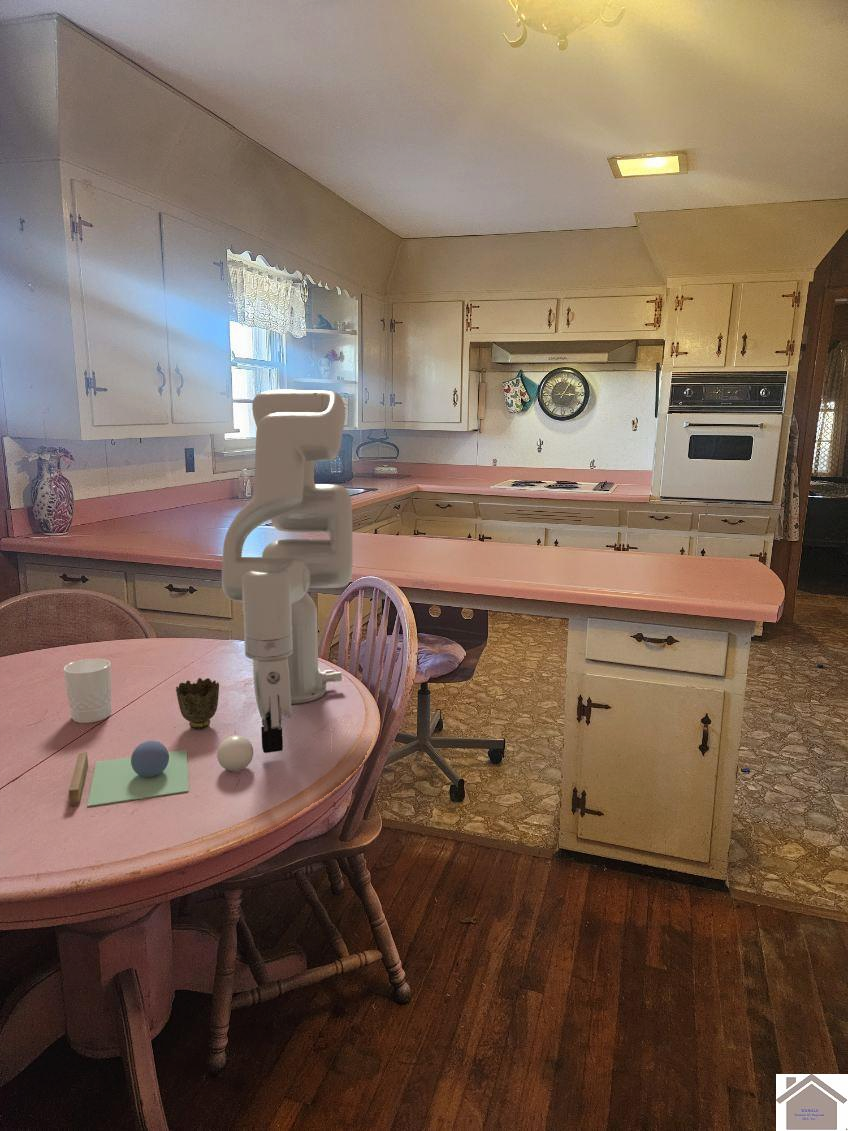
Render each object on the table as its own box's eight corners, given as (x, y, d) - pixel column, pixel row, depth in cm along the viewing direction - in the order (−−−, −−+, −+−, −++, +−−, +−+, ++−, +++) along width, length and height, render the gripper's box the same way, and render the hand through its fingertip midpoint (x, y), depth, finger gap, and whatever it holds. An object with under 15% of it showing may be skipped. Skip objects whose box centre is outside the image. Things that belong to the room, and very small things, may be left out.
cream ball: (215, 731, 114) (209, 756, 117) (227, 757, 111) (221, 782, 113) (249, 725, 118) (242, 749, 120) (261, 750, 114) (254, 774, 117)
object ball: (137, 732, 115) (127, 764, 115) (136, 747, 109) (125, 781, 110) (173, 738, 117) (163, 769, 117) (173, 753, 112) (163, 786, 112)
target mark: (186, 750, 122) (186, 749, 122) (188, 791, 109) (188, 790, 109) (96, 762, 118) (96, 761, 118) (87, 807, 105) (87, 805, 105)
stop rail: (88, 766, 116) (86, 752, 116) (79, 804, 105) (78, 789, 105) (80, 767, 116) (78, 753, 115) (70, 806, 105) (68, 790, 104)
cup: (182, 739, 126) (179, 696, 125) (175, 722, 133) (172, 681, 131) (225, 730, 130) (223, 689, 128) (216, 715, 136) (214, 675, 134)
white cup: (97, 726, 131) (92, 674, 129) (58, 722, 132) (53, 671, 130) (123, 709, 138) (119, 660, 136) (86, 705, 140) (82, 656, 138)
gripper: (299, 657, 110) (302, 767, 114) (285, 628, 124) (288, 728, 128) (249, 662, 108) (254, 774, 112) (240, 632, 121) (245, 733, 125)
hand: (272, 749), depth 120 cm, fingers closed
